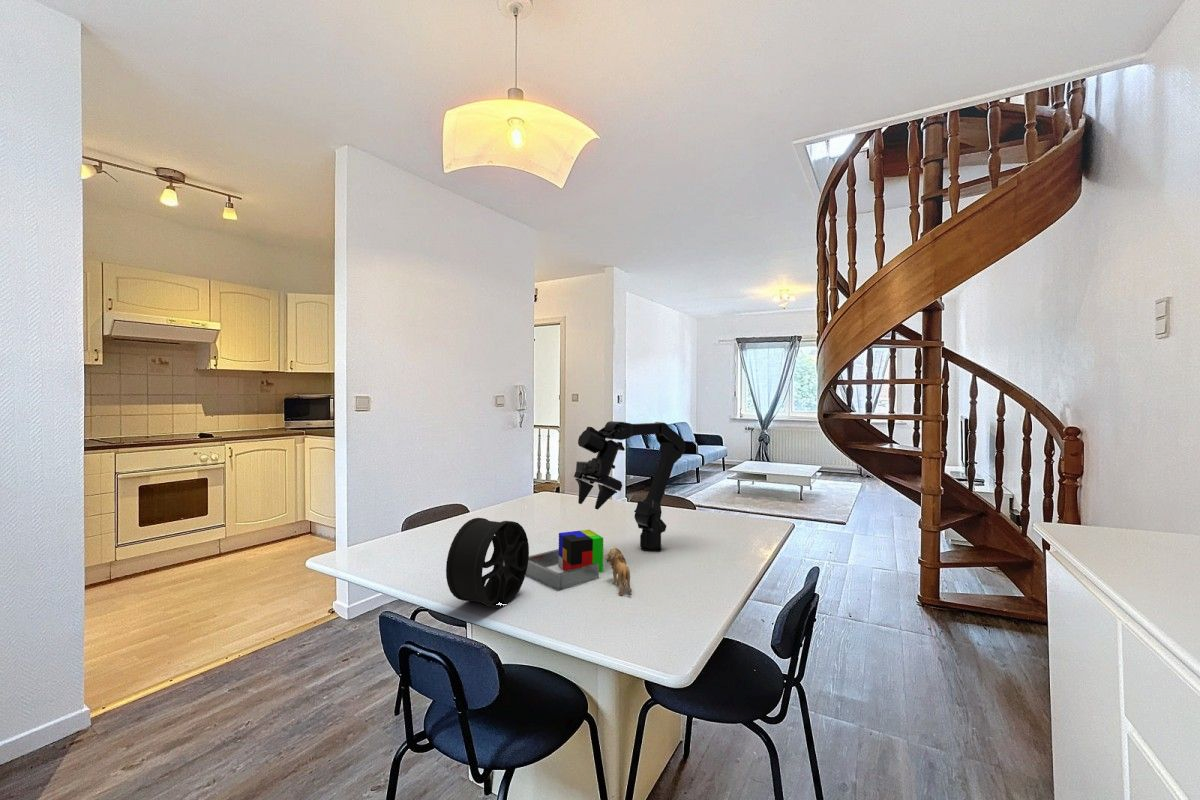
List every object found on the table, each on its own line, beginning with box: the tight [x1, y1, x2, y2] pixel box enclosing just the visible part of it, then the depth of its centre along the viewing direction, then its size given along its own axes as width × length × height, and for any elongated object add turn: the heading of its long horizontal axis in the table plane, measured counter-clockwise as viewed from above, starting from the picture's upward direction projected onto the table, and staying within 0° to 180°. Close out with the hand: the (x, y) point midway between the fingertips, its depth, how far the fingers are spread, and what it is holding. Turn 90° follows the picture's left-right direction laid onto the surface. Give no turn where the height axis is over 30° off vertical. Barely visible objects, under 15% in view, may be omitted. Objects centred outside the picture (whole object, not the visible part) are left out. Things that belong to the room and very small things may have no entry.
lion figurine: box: [603, 547, 633, 597], centre depth 134 cm, size 15×5×9 cm, turn 19°
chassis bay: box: [525, 548, 600, 591], centre depth 143 cm, size 14×18×4 cm
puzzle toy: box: [558, 529, 604, 573], centre depth 148 cm, size 10×10×10 cm
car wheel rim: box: [445, 517, 530, 609], centre depth 124 cm, size 20×10×20 cm, turn 156°
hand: (587, 506), depth 154 cm, fingers open, 9 cm apart
